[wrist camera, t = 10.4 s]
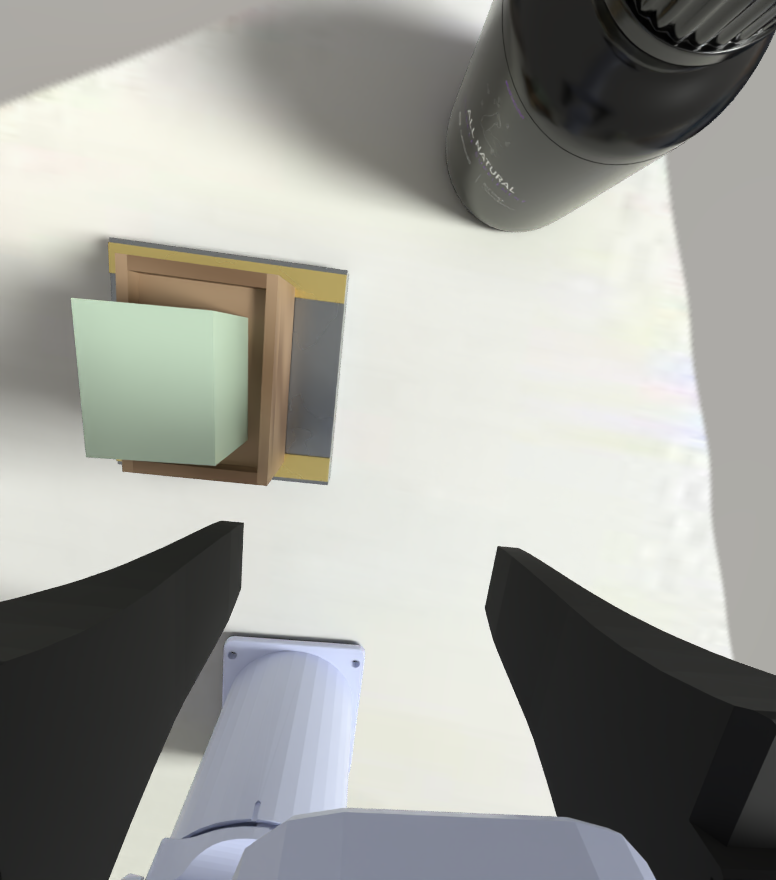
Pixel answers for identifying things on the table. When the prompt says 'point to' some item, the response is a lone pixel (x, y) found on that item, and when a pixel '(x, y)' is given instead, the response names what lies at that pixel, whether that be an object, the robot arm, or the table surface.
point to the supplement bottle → (591, 96)
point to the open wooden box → (268, 353)
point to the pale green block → (161, 381)
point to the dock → (310, 352)
